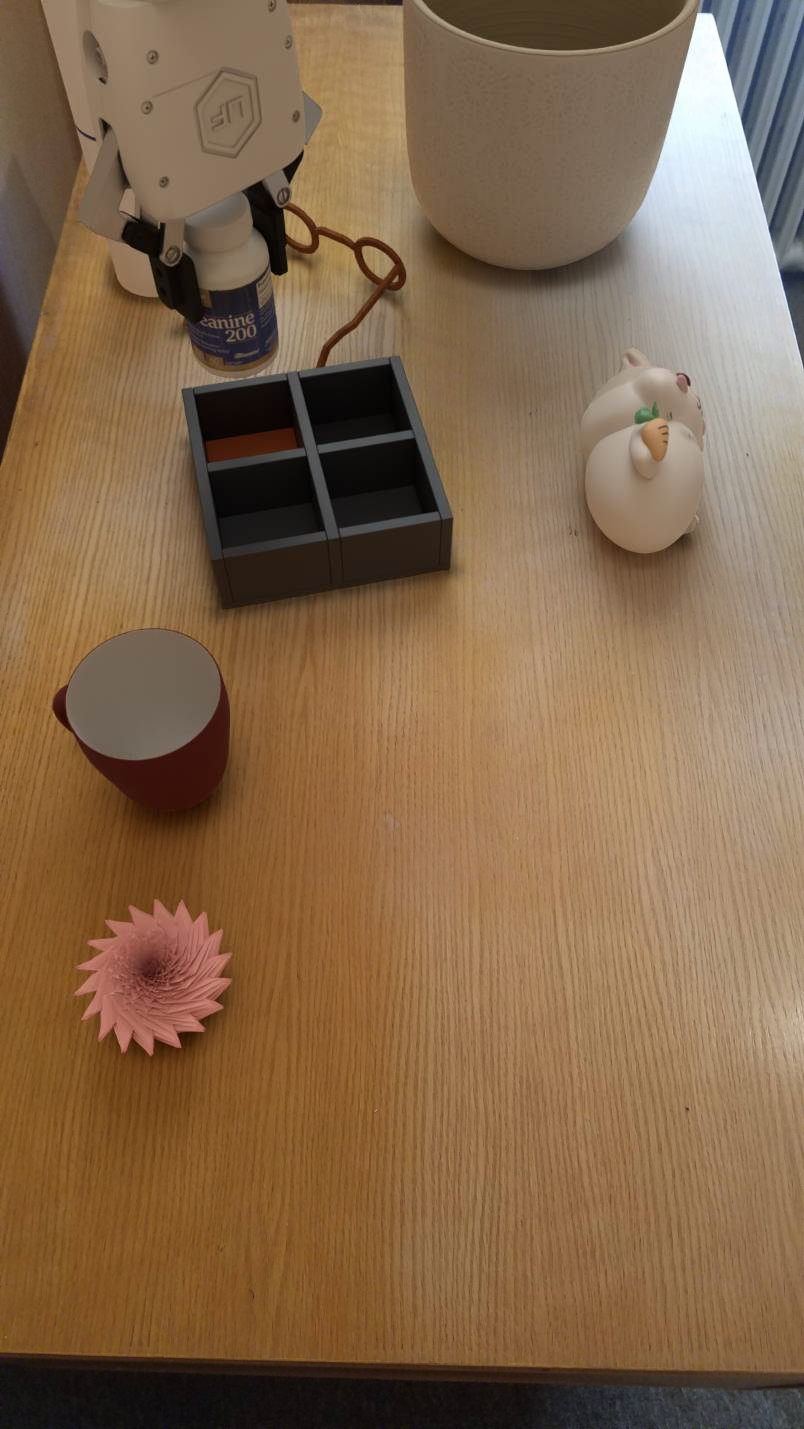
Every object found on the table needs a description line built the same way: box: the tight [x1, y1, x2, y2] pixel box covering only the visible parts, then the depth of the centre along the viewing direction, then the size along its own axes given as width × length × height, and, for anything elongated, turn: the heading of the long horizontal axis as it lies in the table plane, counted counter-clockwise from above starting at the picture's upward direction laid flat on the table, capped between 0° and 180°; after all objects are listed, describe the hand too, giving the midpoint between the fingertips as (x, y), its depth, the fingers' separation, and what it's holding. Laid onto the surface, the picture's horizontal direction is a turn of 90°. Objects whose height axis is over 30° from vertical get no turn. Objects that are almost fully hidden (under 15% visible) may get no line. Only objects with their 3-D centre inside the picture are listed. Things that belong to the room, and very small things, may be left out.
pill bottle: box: [183, 191, 280, 379], centre depth 59 cm, size 5×5×10 cm
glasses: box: [181, 202, 407, 368], centre depth 79 cm, size 13×13×5 cm
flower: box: [73, 898, 234, 1057], centre depth 52 cm, size 8×8×6 cm
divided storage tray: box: [180, 354, 454, 610], centre depth 69 cm, size 15×15×5 cm
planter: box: [402, 0, 701, 271], centre depth 79 cm, size 21×21×19 cm
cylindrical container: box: [40, 0, 160, 298], centre depth 73 cm, size 7×7×25 cm
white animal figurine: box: [579, 347, 706, 554], centre depth 68 cm, size 10×8×15 cm
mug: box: [51, 627, 231, 812], centre depth 56 cm, size 10×8×10 cm
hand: (226, 284), depth 59 cm, fingers closed on pill bottle, 5 cm apart
